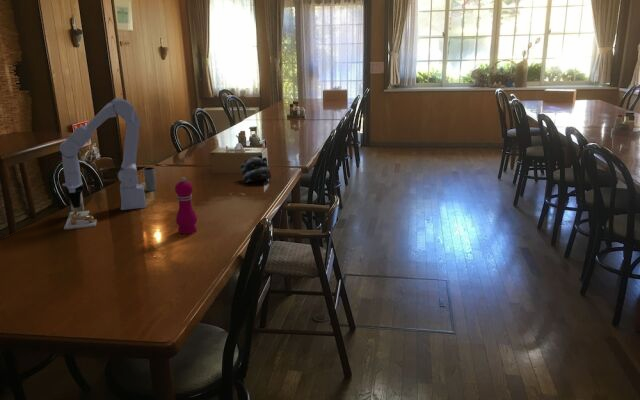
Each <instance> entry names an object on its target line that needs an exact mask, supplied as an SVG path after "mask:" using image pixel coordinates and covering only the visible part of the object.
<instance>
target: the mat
mask: <svg viewBox="0 0 640 400" xmlns="http://www.w3.org/2000/svg"><path fill="white" fill-rule="evenodd" d="M73 213H74V212H72V211H70V212H69V214H68V217H67V219H68V218H72V216H73ZM77 213H78V216H79V217H80V216H89V213H90V210H83V212H77Z"/></svg>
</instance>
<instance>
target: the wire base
mask: <svg viewBox="0 0 640 400" xmlns="http://www.w3.org/2000/svg"><path fill="white" fill-rule="evenodd" d="M76 222H77V224H75V225H72V224H71V218H68V217H67V220H66V223H65V224H64V227H63V230H72V229H81V228H83V229H84V228H92V227H96V226H97V222H98V219H97V218H95V219H94V222H93V223H89V219H82V220H76Z"/></svg>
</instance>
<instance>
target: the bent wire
mask: <svg viewBox="0 0 640 400" xmlns="http://www.w3.org/2000/svg"><path fill="white" fill-rule="evenodd" d="M94 218H95V217H94V216H93V215H88V216H80V217H79V216H78V213H77V212H74V213H73V216H72V218H71V224H72V225H75V224H77V222H76V220H82V219H85V220H89V223H93V222H94Z"/></svg>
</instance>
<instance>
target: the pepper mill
mask: <svg viewBox="0 0 640 400" xmlns="http://www.w3.org/2000/svg"><path fill="white" fill-rule="evenodd" d="M186 179H187V178H186V177H185V176H184V177H183V176H182V177H180V181H178V182H177V183H176V184H175V187H174V192H175V194H177V196H176V197H177V201H178V205H179V206H178V211H177V214H176V219H175V222H176V224H177V226H178V233H179V234H180V233H182V234H181V235H189V234H188V233H192V234H194V233H193V232H195V231H196V230H198V229H197V225H196V224H197V222H198V217H197V214H196V212H195V210H194V208H193V205H192V199H193V197H192V196H193V195H192V193H193V190H194V188H193V185H192V184H191V182H190V181H186ZM196 232H197V231H196ZM196 232H195V233H196Z"/></svg>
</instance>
